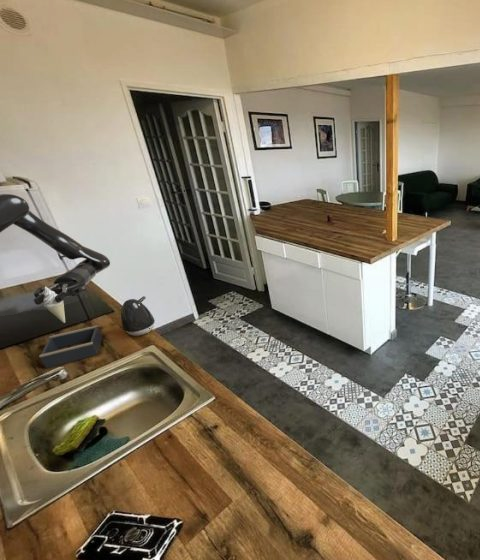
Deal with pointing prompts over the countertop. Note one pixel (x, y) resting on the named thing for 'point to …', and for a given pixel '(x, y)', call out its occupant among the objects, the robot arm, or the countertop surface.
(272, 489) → the countertop surface
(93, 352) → the basket
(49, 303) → the ice cream cone
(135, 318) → the pump dispenser
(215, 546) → the countertop surface
